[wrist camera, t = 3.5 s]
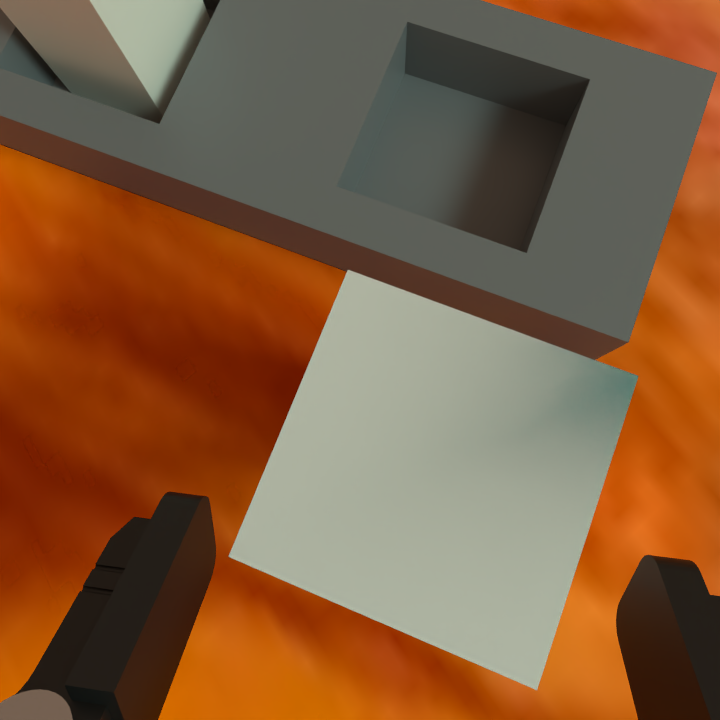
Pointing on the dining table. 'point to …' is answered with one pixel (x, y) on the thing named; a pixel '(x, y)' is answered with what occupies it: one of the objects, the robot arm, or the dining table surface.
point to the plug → (438, 475)
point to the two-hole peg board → (377, 140)
